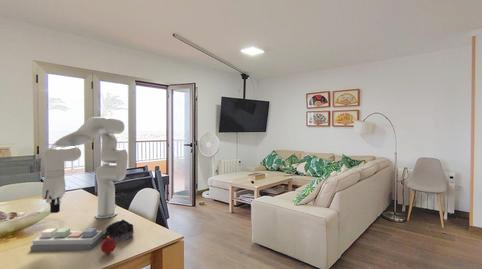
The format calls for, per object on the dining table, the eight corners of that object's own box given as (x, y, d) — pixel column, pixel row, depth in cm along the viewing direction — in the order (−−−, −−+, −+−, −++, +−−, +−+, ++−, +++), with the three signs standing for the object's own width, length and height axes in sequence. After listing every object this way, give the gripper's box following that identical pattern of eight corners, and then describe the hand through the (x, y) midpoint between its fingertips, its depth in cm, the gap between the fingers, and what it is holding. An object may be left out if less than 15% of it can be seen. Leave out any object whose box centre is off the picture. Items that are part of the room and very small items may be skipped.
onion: (118, 250, 114) (118, 233, 113) (112, 257, 108) (112, 238, 108) (105, 251, 113) (104, 233, 113) (98, 257, 108) (98, 239, 107)
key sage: (61, 233, 122) (61, 228, 122) (70, 233, 122) (70, 228, 122) (55, 237, 118) (55, 232, 118) (64, 237, 118) (64, 231, 118)
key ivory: (47, 233, 122) (47, 228, 122) (56, 233, 122) (56, 228, 122) (41, 237, 117) (41, 232, 117) (50, 237, 118) (50, 232, 118)
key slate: (87, 233, 123) (87, 228, 123) (96, 233, 123) (96, 228, 123) (82, 236, 118) (82, 231, 118) (91, 236, 119) (91, 231, 119)
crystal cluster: (106, 235, 132) (104, 217, 130) (134, 229, 137) (132, 212, 135) (103, 248, 119) (100, 228, 118) (134, 241, 124) (132, 222, 123)
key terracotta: (74, 237, 122) (74, 232, 122) (83, 237, 123) (83, 232, 123) (69, 241, 118) (69, 235, 118) (78, 241, 118) (78, 235, 118)
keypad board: (50, 238, 126) (50, 230, 126) (104, 237, 127) (104, 229, 127) (30, 250, 113) (30, 241, 113) (90, 249, 114) (90, 240, 114)
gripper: (56, 171, 126) (56, 207, 126) (34, 176, 111) (35, 218, 112) (72, 171, 127) (72, 207, 127) (52, 176, 112) (53, 217, 112)
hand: (55, 212), depth 119 cm, fingers closed
